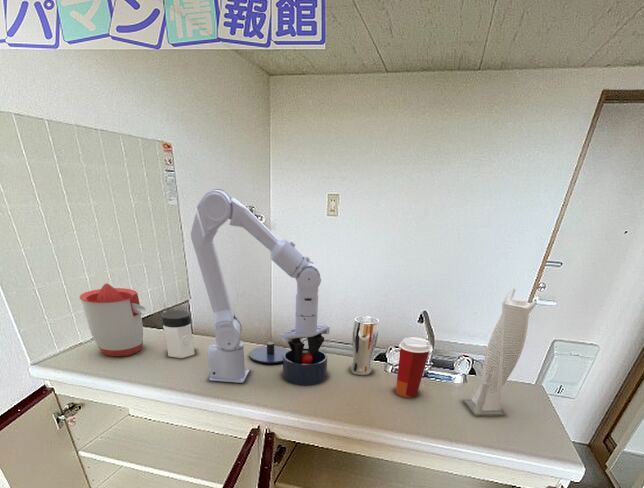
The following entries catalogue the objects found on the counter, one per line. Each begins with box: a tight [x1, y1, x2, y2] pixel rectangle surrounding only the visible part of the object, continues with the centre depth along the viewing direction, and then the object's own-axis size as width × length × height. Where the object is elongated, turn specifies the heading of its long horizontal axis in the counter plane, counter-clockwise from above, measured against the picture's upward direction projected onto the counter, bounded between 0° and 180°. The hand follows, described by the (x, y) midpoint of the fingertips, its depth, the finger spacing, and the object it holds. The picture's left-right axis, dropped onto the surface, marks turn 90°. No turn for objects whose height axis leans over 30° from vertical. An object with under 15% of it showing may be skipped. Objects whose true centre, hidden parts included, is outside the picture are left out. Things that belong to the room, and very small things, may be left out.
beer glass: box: [350, 315, 380, 376], centre depth 114 cm, size 7×7×15 cm
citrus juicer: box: [79, 282, 147, 357], centre depth 121 cm, size 16×17×20 cm
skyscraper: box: [463, 287, 537, 417], centre depth 94 cm, size 8×8×28 cm
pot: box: [282, 347, 328, 386], centre depth 113 cm, size 12×12×6 cm
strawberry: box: [302, 350, 313, 364], centre depth 112 cm, size 4×4×5 cm
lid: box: [248, 341, 290, 364], centre depth 124 cm, size 13×13×4 cm
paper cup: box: [395, 336, 432, 398], centre depth 103 cm, size 8×8×14 cm
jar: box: [161, 310, 195, 359], centre depth 122 cm, size 9×8×12 cm
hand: (305, 362), depth 112 cm, fingers closed on strawberry, 4 cm apart
